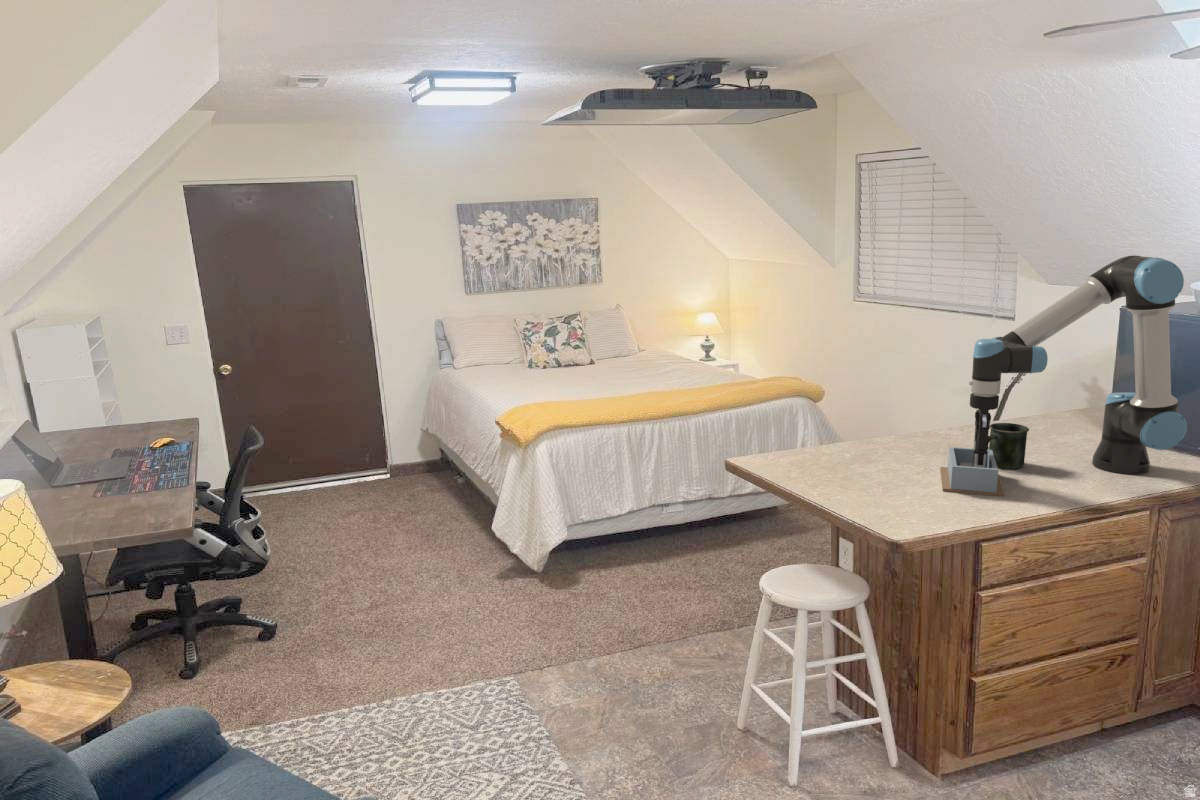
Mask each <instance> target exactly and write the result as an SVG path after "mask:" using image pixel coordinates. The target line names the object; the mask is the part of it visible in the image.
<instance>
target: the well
mask: <svg viewBox="0 0 1200 800" xmlns="http://www.w3.org/2000/svg"><path fill="white" fill-rule="evenodd" d="M973 449H974V448H970V447H969V448H968V447H956V446H949V447H948V459H947V467H945V466H940V467H939V471H940V477H941V478H940V479H941V486H942V488H941V489H942V492H946V491H948V492H947V493H958V492H960V494H970V493H972V494H971V495H983V496H995V497H1005V491H1004V487H1003V484H1002V482H1001V481H1002V480H1001V479H1000V475H999V467H997V464H996V461H995V458H994V455H993V451H992V450H987V454H986V461H985V468H981V467H968V466H959V462H969V463H972V461H973Z"/></svg>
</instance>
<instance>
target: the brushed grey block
mask: <svg viewBox="0 0 1200 800" xmlns="http://www.w3.org/2000/svg"><path fill="white" fill-rule="evenodd" d="M972 449H973V461H972V463H969V462H959V466H968V467H974V466H975V454H974V451H975V452H976V450H977V438H975V437H974V439H973V448H972ZM985 461H986V460H985Z"/></svg>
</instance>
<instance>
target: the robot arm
mask: <svg viewBox="0 0 1200 800" xmlns="http://www.w3.org/2000/svg"><path fill="white" fill-rule="evenodd" d="M1184 283H1185V279H1184V274H1183V272H1182V270H1181V268H1180V267H1179V266H1178V265H1177V264H1176V263H1174V262H1172V261H1170V260H1167V259H1164V258H1161V257H1150V256H1141V255H1133V254H1132V255H1128V256H1124V257H1120V258H1118V259H1116V260H1114V261H1112V262H1110V263H1108V264H1106V265H1105V266H1103V267H1101V268H1100V269H1098V270H1097V271H1095V272H1094V273H1092V274H1091V275H1089V276H1088V277H1087V278H1086V280H1085V283H1083V284H1082V285H1080V286H1079V287H1077V288H1075V289H1074V290H1073V291H1071V292H1070V293H1068V294H1067V295H1064V297H1061V299H1059V300H1057V301H1056V302H1055V303H1053V304H1052V305H1050V306H1048V307H1047V308H1045V309H1043V310H1042V311H1040V312H1039V313H1037V314H1036V315H1035V316H1032V318H1029V319H1028V320H1027V321H1025V322H1024V323H1022V324H1020V325H1019V326H1018V327H1016V328H1015V329H1012V331H1010V332H1008V333H1007V334H1005V335H1004V336H996V337H992V338H982V339H978V340H976V341H975V343H974V347H973V354H972V357H973V361H972V372H971V373H972V375H971V381H969V383H968V384H969V385H970V386H971V387H970V392H971V393H970V396H969V397H970V398H969V406H970V407H971V408H972V409H976V411H975V413H974V418H975V421H974V425H975V429H974V438H977V450H976V452H975V451H974V454H975V466H974V467H981V468H985V460H986V454H987V444H988V436H989V431H990V427H989V426H990V425H991V424H990V423H991V420H992V415H991V413H990V412H989V411H991V410H993V411H994V410H997V409H998V407H999V401H1000V400H999V399H1000V396H999V394H1000V393H1001V384H1002V383H1001V381H1002V380H1001V379H1002V374H1035V373H1036V374H1037V373H1039V374H1040V373H1042V372H1043V371H1044V370H1046V368H1047V366H1048V360H1049V359H1048V353H1047V351H1046V349H1045V348H1044V347H1043V346H1039V345H1040V344H1042V343H1043V342H1045V341H1046V340H1048V339H1049V338H1052V337H1053V336H1054V335H1055V334H1057V333H1059V332H1060V331H1062V330H1064V329H1065V328H1067V327H1068V326H1070V325H1071V324H1073V323H1074V322H1076V321H1077V320H1079V319H1081V318H1082V317H1083V316H1085V315H1087V314H1088V313H1090V312H1091V311H1093V310H1095V309H1096V308H1098V307H1099V306H1101V305H1103V304H1104V305H1109V304H1111V303H1112V302H1114V301H1115V300H1118V299H1120V298H1124V297H1125V307H1126V310H1127V311H1128V312H1130V313H1131V314H1132V330H1133V331H1132V332H1133V335H1132V336H1133V354H1134V355H1133V357H1134V359H1133V360H1134V381H1135V382H1134V384H1135V385H1134V387H1135V392H1134V391H1132V392H1131V391H1130V392H1129V391H1125V392H1124V391H1123V392H1122V391H1121V392H1117V391H1116V392H1111V393H1109V394H1108V395H1107V396H1106V399H1105V404H1104V413H1103V414H1104V416H1103V423H1102V432H1101V440H1100V442H1099V444H1098V445H1097V448H1096V450H1095V451H1094V453H1093V456H1092V460H1091V461H1092V462H1091V464H1092V465H1093V466H1094V467H1095V468H1098V469H1100V470H1104V471H1108V472H1112V473H1117V474H1126V475H1127V474H1128V475H1131V474H1132V475H1134V474H1135V475H1138V474H1139V475H1141V474H1145V473H1148V472H1149V471H1150V465H1151V463H1150V462H1151V461H1150V457H1149V453H1148V448H1150V449H1154V450H1157V451H1158V450H1159V451H1162V450H1164V451H1165V450H1168V449H1172V448H1173V447H1176V446H1177V445H1178V444H1179V443H1180V441H1183V440H1184V438H1185V436H1186V433H1187V431H1188V423H1187V420H1186V418H1185V417H1184V416H1183V415H1182V414H1181V413H1180V412H1179V403H1178V402H1179V401H1178V399H1177V398H1176V397H1175V396H1174V395H1173V394H1172V383H1171V382H1172V380H1171V379H1172V377H1171V346H1170V341H1171V340H1170V311H1171V310H1172V309H1173V308H1174V307H1175V306H1176V299H1177V298H1178V296H1179V294H1180V293H1181V292H1182V290H1183V288H1184ZM988 445H989V444H988Z"/></svg>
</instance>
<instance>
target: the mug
mask: <svg viewBox="0 0 1200 800" xmlns="http://www.w3.org/2000/svg"><path fill="white" fill-rule="evenodd" d="M989 430H990V433H989V434H990V435H988V444H987V450H992V451H993V455H994V458H995V461H996V464H997V467H998V469H1000V468H1001V469H1006V470H1007V469H1008V470H1017V469H1020V468H1022V467H1024V465H1025V458H1026V447H1027V436H1028V433H1029V430H1030V428H1029V427H1028V426H1026V425H1022V424H1018V423H1010V422H996V423H992V424H990V426H989Z"/></svg>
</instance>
